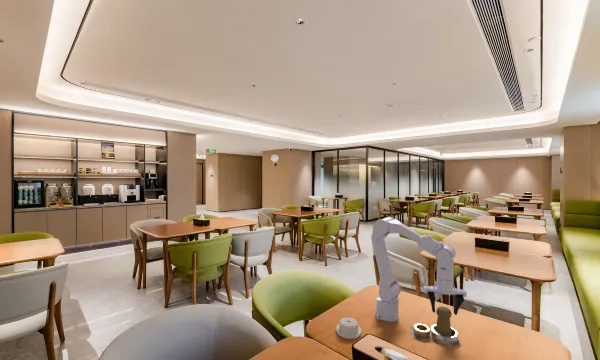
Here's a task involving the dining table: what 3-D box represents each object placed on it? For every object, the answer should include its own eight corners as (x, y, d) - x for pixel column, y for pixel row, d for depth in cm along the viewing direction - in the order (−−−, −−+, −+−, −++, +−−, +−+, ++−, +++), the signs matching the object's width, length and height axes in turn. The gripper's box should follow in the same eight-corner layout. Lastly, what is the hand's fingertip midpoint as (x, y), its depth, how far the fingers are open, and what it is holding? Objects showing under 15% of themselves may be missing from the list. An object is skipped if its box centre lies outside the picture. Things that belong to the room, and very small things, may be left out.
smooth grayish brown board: (412, 341, 109) (412, 339, 109) (409, 328, 117) (409, 326, 117) (461, 348, 104) (461, 346, 104) (455, 334, 113) (455, 332, 113)
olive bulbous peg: (455, 341, 107) (455, 312, 107) (438, 340, 108) (438, 311, 107) (448, 331, 113) (448, 304, 113) (432, 331, 114) (432, 304, 113)
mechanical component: (366, 332, 115) (345, 322, 122) (366, 321, 115) (346, 312, 122) (351, 343, 108) (331, 332, 115) (351, 331, 108) (331, 321, 115)
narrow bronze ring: (415, 337, 110) (415, 330, 110) (413, 328, 115) (413, 322, 115) (430, 339, 109) (430, 332, 108) (428, 330, 114) (428, 324, 114)
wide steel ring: (433, 342, 107) (433, 335, 107) (429, 328, 116) (429, 322, 115) (460, 345, 104) (460, 339, 104) (453, 331, 113) (454, 325, 113)
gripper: (463, 275, 111) (462, 309, 112) (422, 272, 115) (422, 305, 116) (468, 282, 104) (467, 319, 105) (425, 278, 108) (425, 314, 109)
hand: (444, 312), depth 110 cm, fingers open, 7 cm apart
